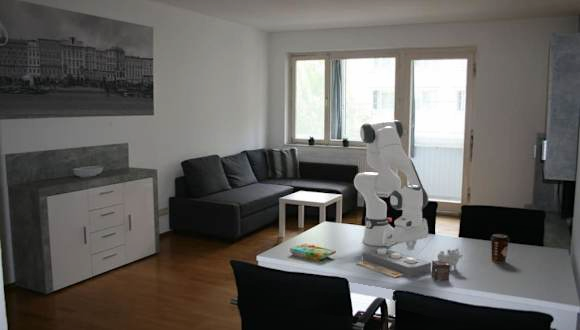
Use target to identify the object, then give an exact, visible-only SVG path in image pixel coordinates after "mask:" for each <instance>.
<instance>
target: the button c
mask: <svg viewBox="0 0 580 330" xmlns="http://www.w3.org/2000/svg"><path fill="white" fill-rule="evenodd" d="M411 257H412V256H411ZM411 257H408V258H406V263H409V264H415V263H416V259H415V258H416V257H415V258H411Z"/></svg>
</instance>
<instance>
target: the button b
mask: <svg viewBox="0 0 580 330" xmlns="http://www.w3.org/2000/svg"><path fill="white" fill-rule="evenodd" d="M399 253H400V252H398V253H391V258H393V259H400V258H401V254H399Z"/></svg>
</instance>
